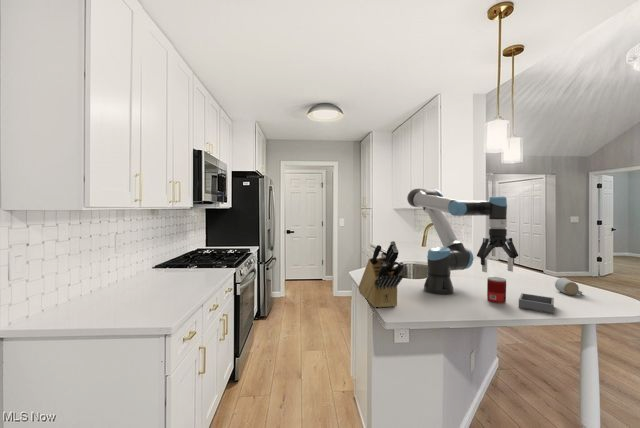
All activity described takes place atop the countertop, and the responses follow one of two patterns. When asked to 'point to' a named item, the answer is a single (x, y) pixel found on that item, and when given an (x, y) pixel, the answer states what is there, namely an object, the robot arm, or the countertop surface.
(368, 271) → the knife block
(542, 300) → the tray
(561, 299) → the countertop surface
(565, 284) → the ceramic mug
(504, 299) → the canned food
